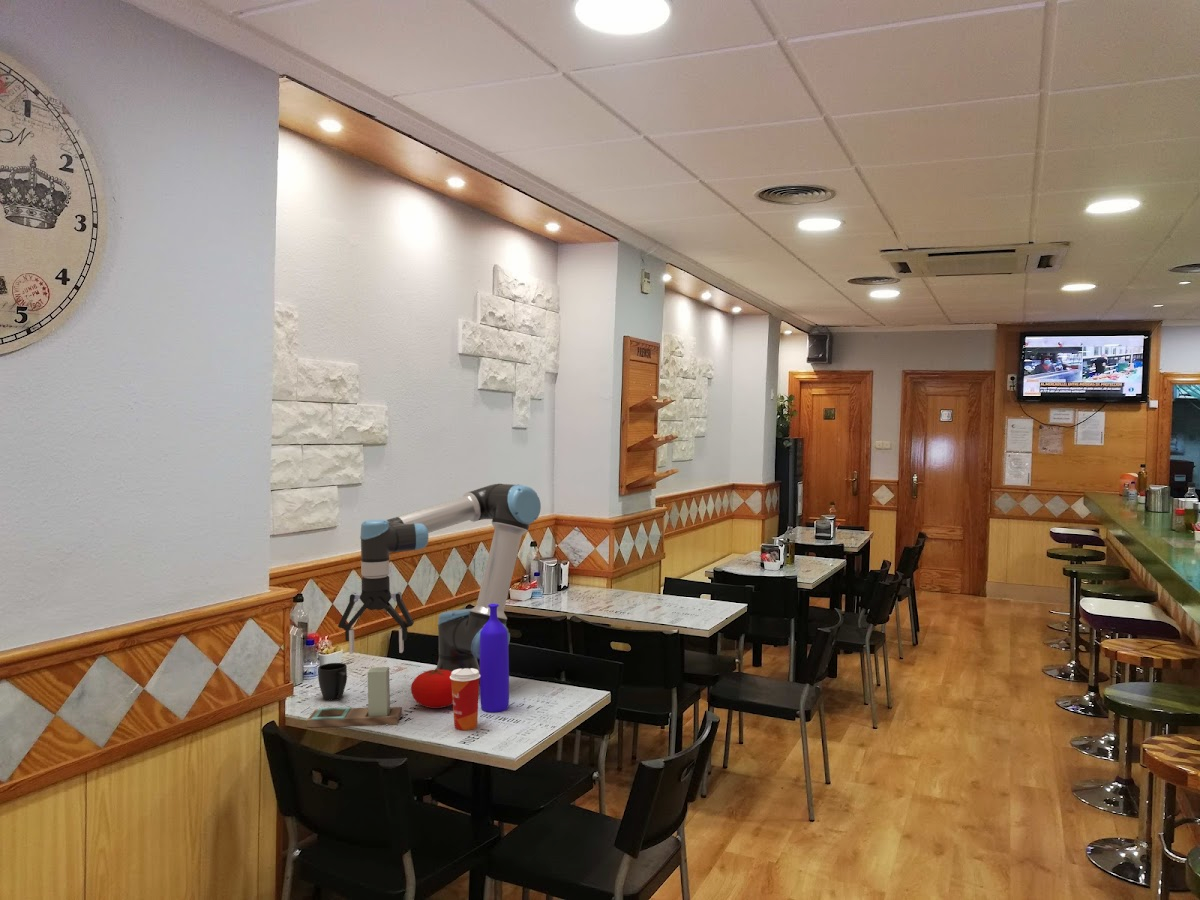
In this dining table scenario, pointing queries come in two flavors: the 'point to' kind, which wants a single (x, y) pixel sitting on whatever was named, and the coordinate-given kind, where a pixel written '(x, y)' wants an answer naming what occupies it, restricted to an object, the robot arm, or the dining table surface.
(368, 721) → the wooden board
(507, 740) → the dining table surface
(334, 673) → the mug
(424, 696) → the tomato
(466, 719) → the coffee cup
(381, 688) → the block
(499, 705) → the bottle
